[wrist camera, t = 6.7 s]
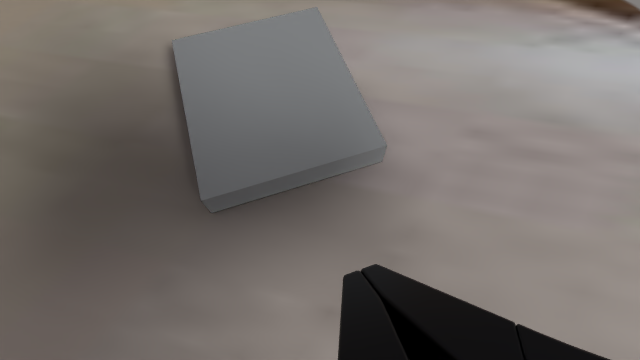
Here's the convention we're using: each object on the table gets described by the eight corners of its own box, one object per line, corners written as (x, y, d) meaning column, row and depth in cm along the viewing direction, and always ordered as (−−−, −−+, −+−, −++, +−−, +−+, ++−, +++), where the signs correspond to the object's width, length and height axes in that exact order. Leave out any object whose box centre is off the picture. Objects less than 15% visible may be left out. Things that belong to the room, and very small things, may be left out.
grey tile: (387, 145, 17) (317, 7, 23) (201, 200, 16) (171, 40, 21) (381, 164, 19) (317, 31, 24) (213, 215, 18) (183, 63, 23)
